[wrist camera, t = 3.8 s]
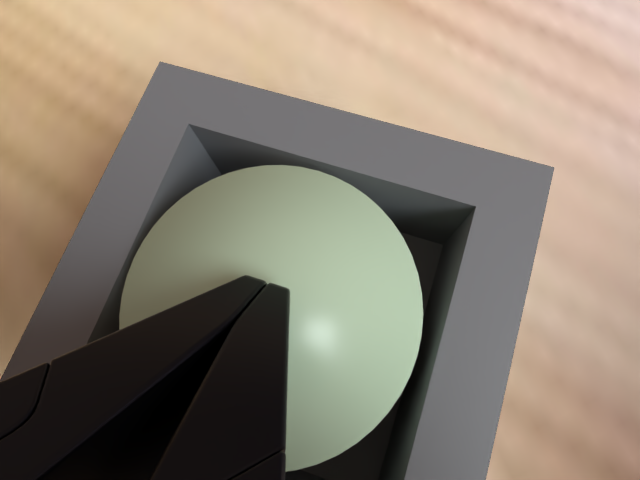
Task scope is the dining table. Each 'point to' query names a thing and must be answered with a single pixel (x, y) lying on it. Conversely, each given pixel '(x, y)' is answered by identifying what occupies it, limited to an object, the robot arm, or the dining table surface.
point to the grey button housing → (382, 188)
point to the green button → (298, 290)
